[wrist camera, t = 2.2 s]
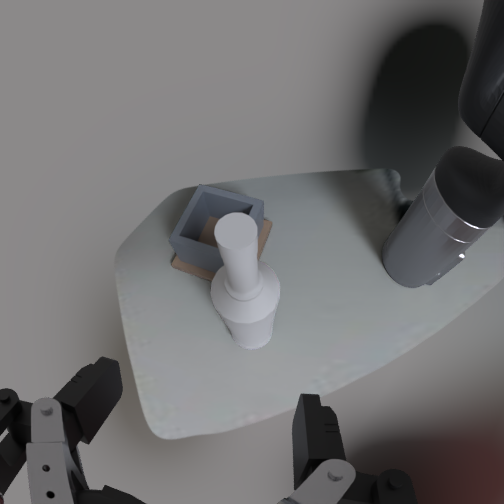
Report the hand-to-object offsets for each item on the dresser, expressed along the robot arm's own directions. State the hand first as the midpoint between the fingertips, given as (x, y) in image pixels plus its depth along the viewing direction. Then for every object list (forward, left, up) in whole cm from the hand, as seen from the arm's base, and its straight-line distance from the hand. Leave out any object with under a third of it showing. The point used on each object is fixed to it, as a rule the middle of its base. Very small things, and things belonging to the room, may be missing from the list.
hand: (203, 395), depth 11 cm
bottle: (+1, -7, -25) cm, 26 cm away
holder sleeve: (+9, -17, -24) cm, 31 cm away
